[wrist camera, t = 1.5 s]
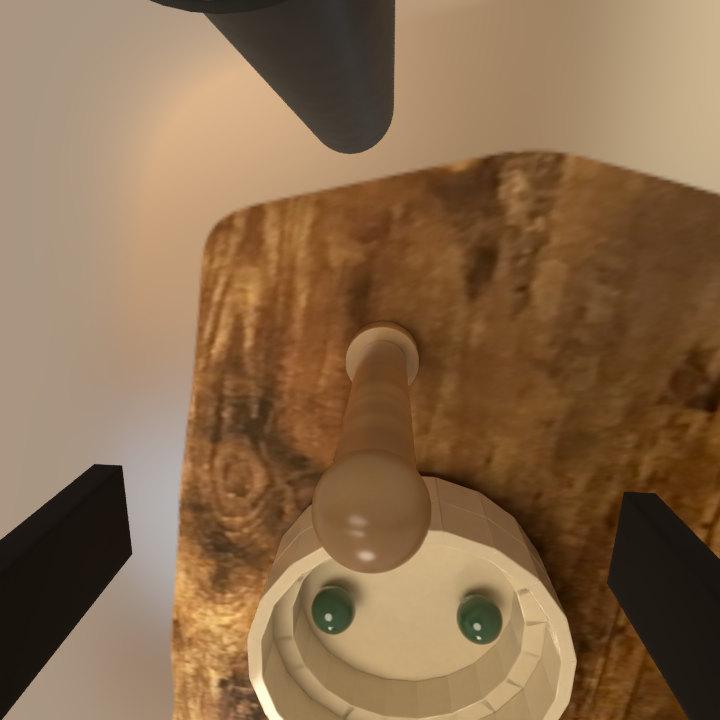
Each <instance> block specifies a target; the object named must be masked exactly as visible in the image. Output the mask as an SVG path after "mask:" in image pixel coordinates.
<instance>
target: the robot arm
mask: <svg viewBox="0 0 720 720" xmlns="http://www.w3.org/2000/svg"><path fill="white" fill-rule="evenodd" d="M131 555H132V547H131V539H130V530H129V521H128V514H127V504H126V495H125V488H124V478H123V470H122V466H120V465H100V464H94V465H93V466H91V467H90V468H89V469H88V470H87V471H85V472H84V473H83V474H82V475H81V476H79V477H78V478H77V479H75V480H74V481H73V482H72V483H71V484H69V485H68V486H67V487H65V488H64V489H63V490H62V491H61V492H59V493H58V494H57V495H56V496H54V497H53V498H52V499H51V500H49V501H48V502H47V503H46V504H44V505H43V506H42V507H41V508H40V509H38V510H37V511H36V512H35V513H33V514H32V515H31V516H30V517H28V518H27V519H26V520H25V521H23V522H22V523H21V524H20V525H18V526H17V527H16V528H15V529H13V530H12V531H11V532H10V533H9V534H7V535H6V536H5V537H4V538H2V539H1V540H0V720H2V719H3V717H4V716H5V715H6V714H7V712H8V711H9V710H10V709H11V707H12V706H13V705H14V704H15V702H16V701H17V700H18V698H19V697H20V696H21V695H22V693H23V692H24V691H25V690H26V688H27V687H28V686H29V685H30V683H31V682H32V681H33V679H34V678H35V677H36V676H37V674H38V673H39V672H40V671H41V669H42V668H43V667H44V665H45V664H46V663H47V662H48V660H49V659H50V658H51V657H52V655H53V654H54V653H55V651H56V650H57V649H58V648H59V646H60V645H61V644H62V642H63V641H64V640H65V639H66V637H67V636H68V635H69V634H70V632H71V631H72V630H73V629H74V627H75V626H76V625H77V623H78V622H79V621H80V620H81V618H82V617H83V616H84V614H85V613H86V612H87V611H88V610H89V608H90V607H91V606H92V604H93V603H94V602H95V601H96V599H97V598H98V597H99V595H100V594H101V593H102V592H103V590H104V589H105V588H106V586H107V585H108V584H109V583H110V582H111V580H112V579H113V578H114V576H115V575H116V574H117V572H118V571H119V570H120V569H121V567H122V566H123V565H124V564H125V562H126V561H127V560H128V559H129V557H130V556H131ZM607 584H608V585H609V587H610V589H611V590H612V592H613V594H614V595H615V597H616V599H617V600H618V602H619V604H620V605H621V607H622V609H623V610H624V612H625V614H626V615H627V617H628V619H629V620H630V622H631V624H632V625H633V627H634V629H635V630H636V632H637V634H638V635H639V637H640V639H641V640H642V642H643V644H644V645H645V647H646V649H647V650H648V652H649V654H650V655H651V657H652V659H653V660H654V662H655V664H656V665H657V667H658V669H659V670H660V672H661V674H662V675H663V677H664V679H665V680H666V682H667V684H668V685H669V687H670V689H671V690H672V692H673V694H674V695H675V697H676V699H677V700H678V702H679V704H680V705H681V707H682V709H683V710H684V712H685V714H686V715H687V717H688V719H689V720H720V559H719V558H718V557H717V556H716V555H715V554H714V553H713V552H712V551H711V550H710V549H709V548H708V547H707V546H706V545H705V544H704V543H703V542H702V541H701V540H700V539H699V538H698V537H697V536H696V534H695V533H694V532H693V531H692V530H691V529H690V528H689V527H688V526H687V525H686V524H685V523H684V522H683V521H682V520H681V519H680V518H679V517H678V516H677V515H676V514H675V513H674V512H673V511H672V510H671V509H670V508H669V507H668V506H667V505H666V504H665V503H664V502H663V501H662V500H661V499H660V498H659V497H658V496H657V495H656V494H655V493H638V492H624V496H623V501H622V506H621V512H620V517H619V522H618V528H617V533H616V539H615V544H614V549H613V555H612V560H611V565H610V571H609V576H608V581H607Z"/></svg>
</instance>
